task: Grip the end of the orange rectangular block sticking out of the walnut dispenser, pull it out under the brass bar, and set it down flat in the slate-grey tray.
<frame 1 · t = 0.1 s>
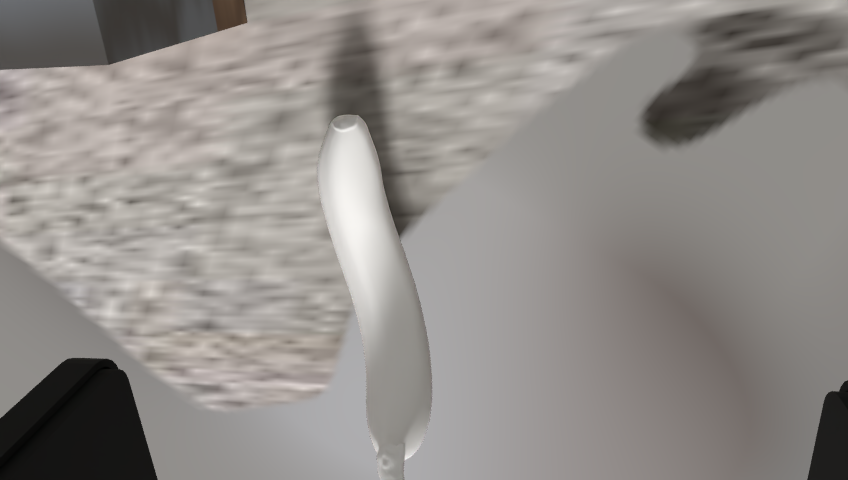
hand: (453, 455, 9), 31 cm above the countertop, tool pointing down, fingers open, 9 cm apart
banana: (388, 244, 43), on the countertop
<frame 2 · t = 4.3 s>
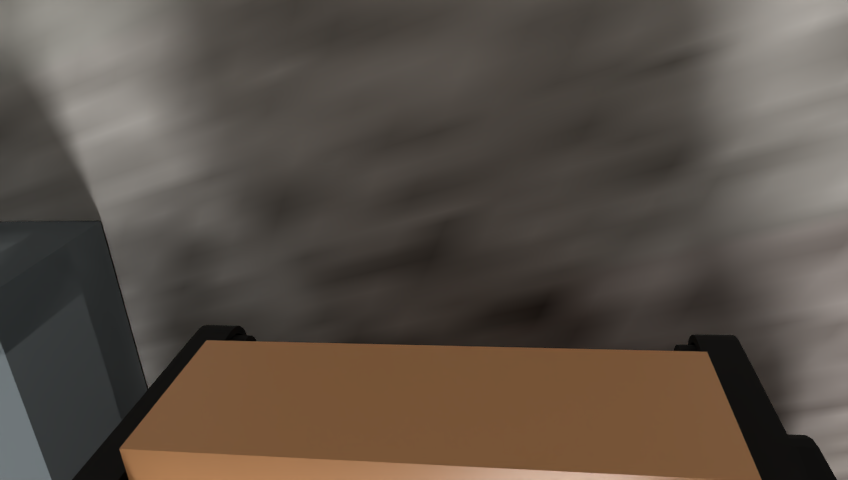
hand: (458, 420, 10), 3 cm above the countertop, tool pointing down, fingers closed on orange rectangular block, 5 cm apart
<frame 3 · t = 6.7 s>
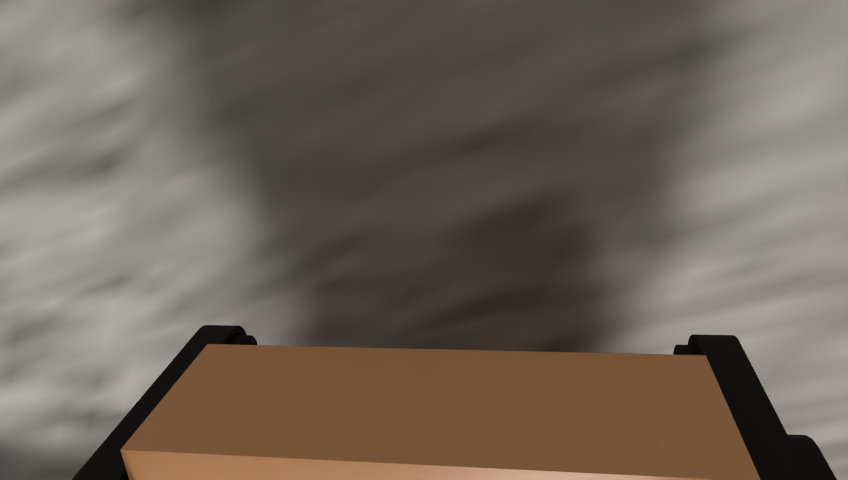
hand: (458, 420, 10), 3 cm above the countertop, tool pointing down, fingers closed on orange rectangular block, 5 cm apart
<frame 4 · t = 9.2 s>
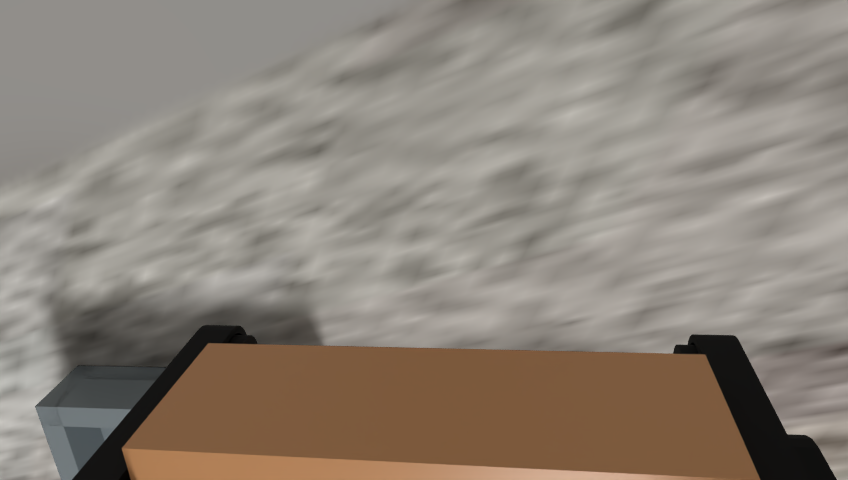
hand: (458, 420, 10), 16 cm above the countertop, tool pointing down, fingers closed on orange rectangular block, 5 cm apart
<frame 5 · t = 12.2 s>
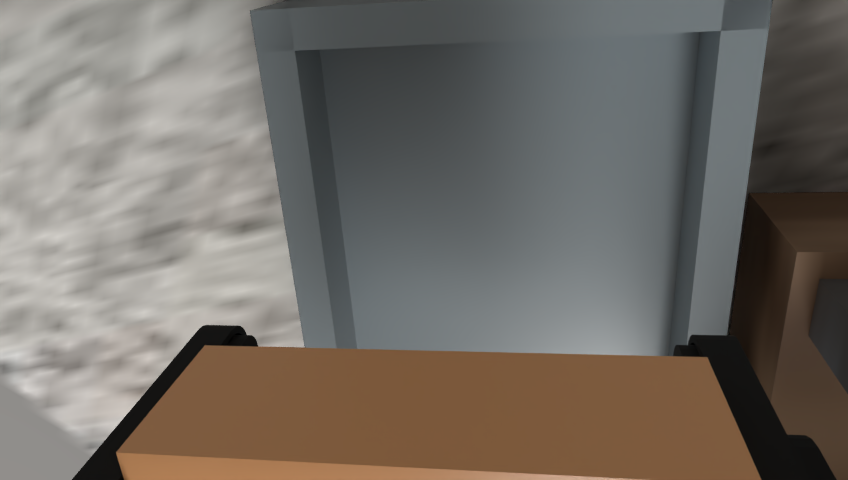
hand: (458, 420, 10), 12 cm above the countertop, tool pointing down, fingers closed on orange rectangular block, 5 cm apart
tray: (508, 334, 23), on the countertop
when the fingers open (2 cm above the countertop, at t = 14.6 s): orange rectangular block drops 3 cm, resting on tray.
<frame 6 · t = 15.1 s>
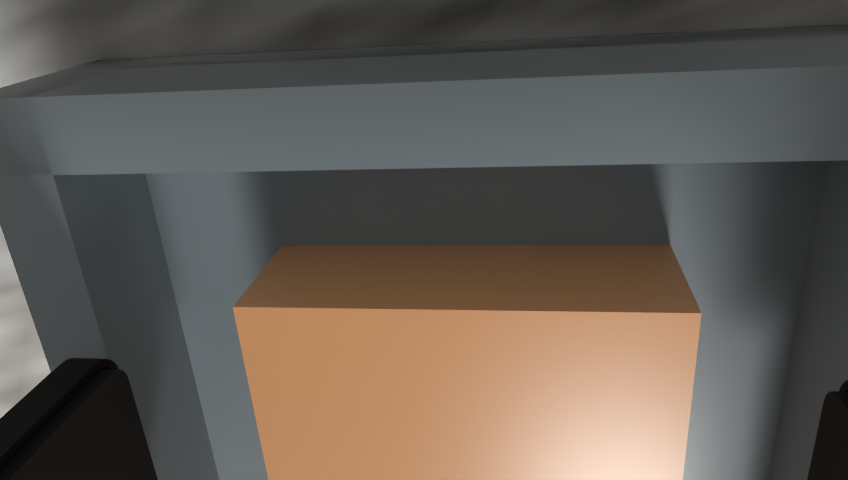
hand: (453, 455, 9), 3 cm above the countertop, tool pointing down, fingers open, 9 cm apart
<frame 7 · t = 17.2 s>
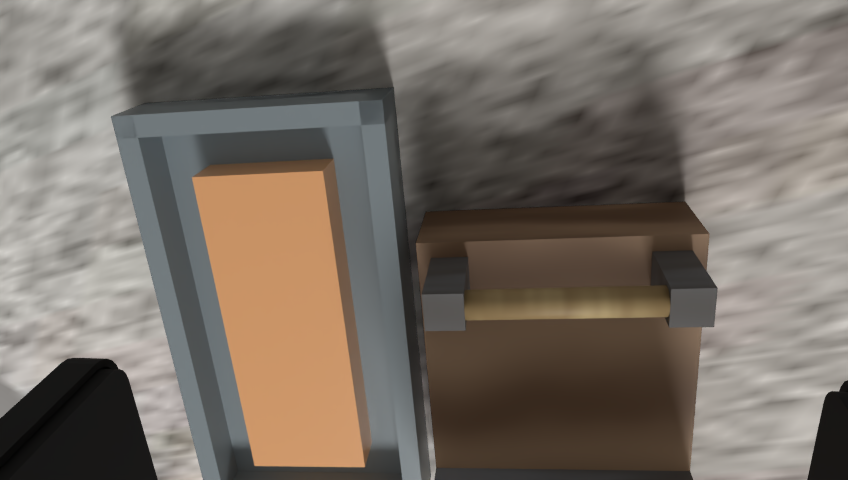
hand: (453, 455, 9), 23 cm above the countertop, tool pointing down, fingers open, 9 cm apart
orange rectangular block: (297, 313, 34), point 1 cm above the countertop, touching tray
dispenser: (553, 319, 34), on the countertop
tray: (301, 306, 35), on the countertop
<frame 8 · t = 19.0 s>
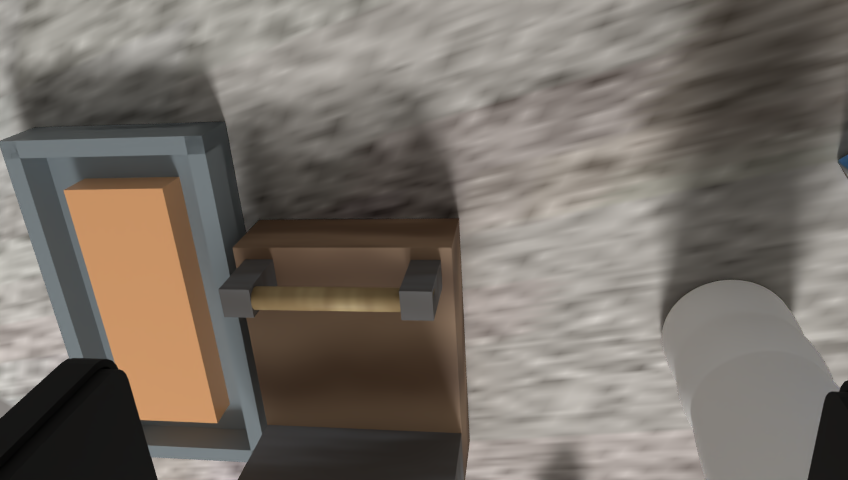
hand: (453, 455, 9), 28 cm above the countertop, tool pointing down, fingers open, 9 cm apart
orange rectangular block: (161, 298, 42), point 1 cm above the countertop, touching tray
dispenser: (366, 308, 42), on the countertop
tray: (168, 292, 43), on the countertop
water bottle: (722, 327, 39), on the countertop
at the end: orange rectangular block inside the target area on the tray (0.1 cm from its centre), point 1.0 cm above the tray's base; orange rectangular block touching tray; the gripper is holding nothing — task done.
